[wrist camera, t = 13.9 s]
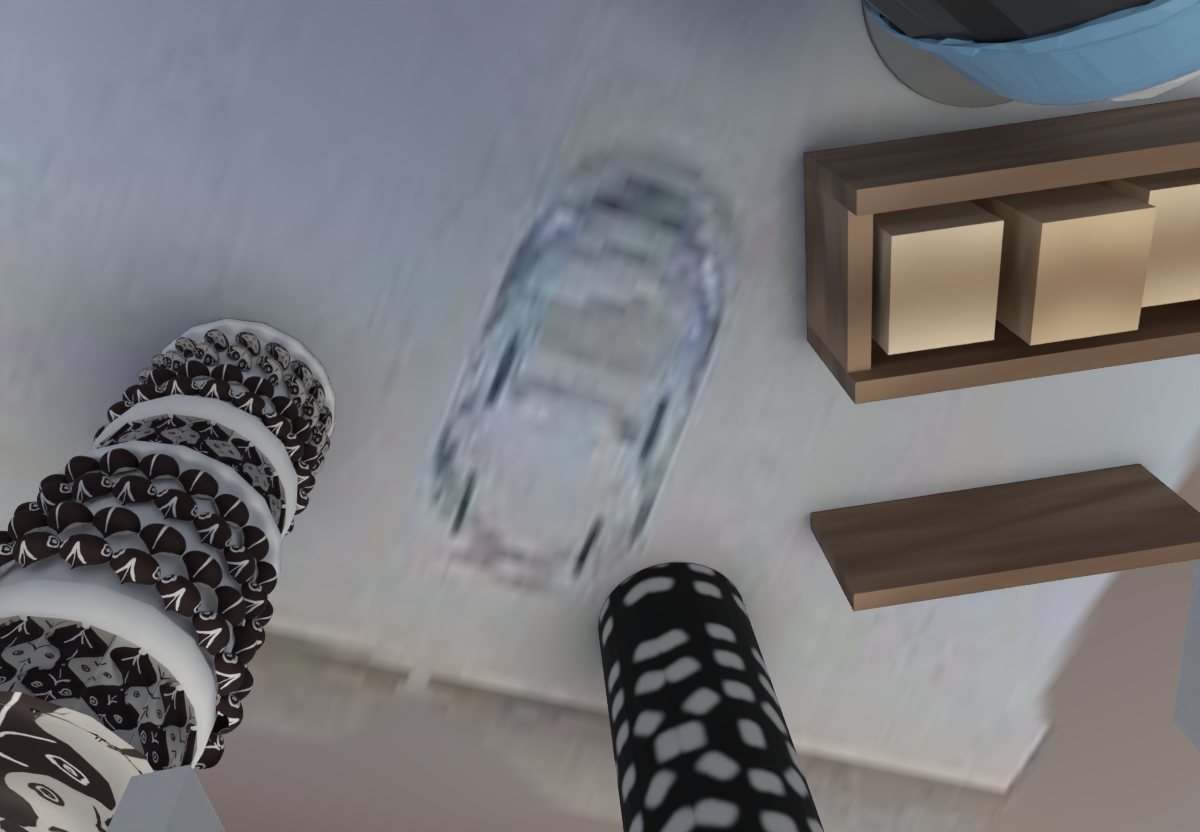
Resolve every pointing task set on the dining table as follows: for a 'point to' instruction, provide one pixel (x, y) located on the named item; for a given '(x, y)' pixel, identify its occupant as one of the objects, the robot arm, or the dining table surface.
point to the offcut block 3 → (1169, 233)
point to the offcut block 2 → (1071, 261)
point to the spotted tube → (696, 710)
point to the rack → (990, 362)
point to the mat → (927, 71)
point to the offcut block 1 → (935, 276)
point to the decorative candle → (153, 573)
